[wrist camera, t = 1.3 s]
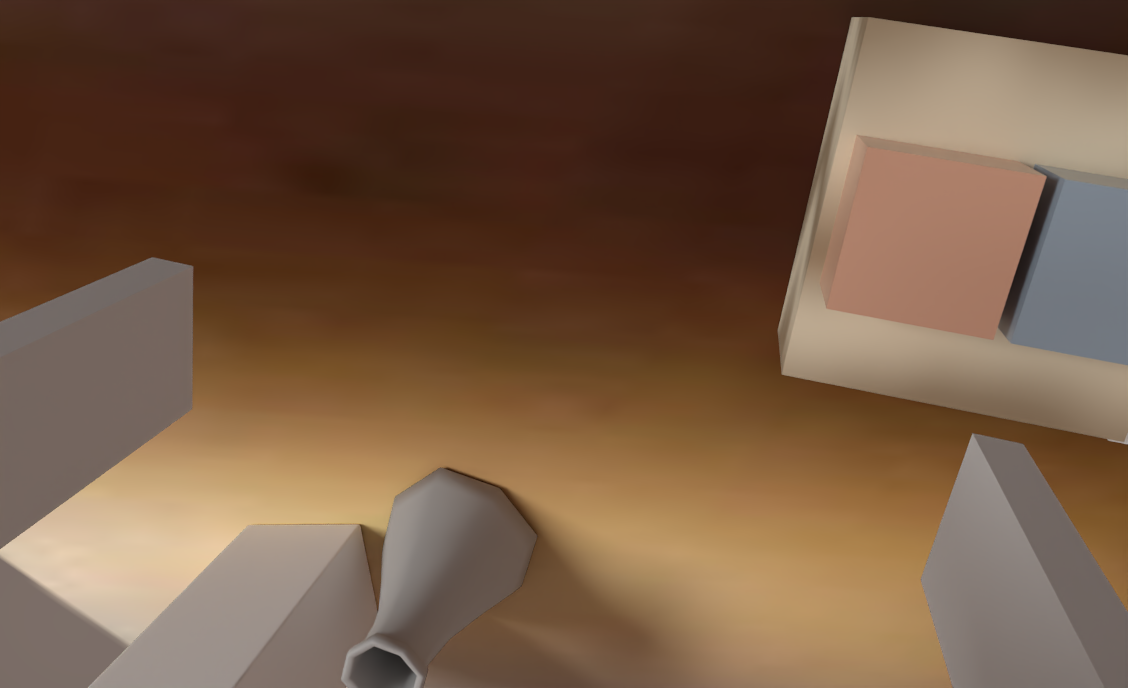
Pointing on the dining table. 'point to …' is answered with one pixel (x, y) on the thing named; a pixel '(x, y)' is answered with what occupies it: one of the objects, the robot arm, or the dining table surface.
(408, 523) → the flask
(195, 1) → the dining table surface
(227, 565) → the milk
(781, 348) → the cream square tray
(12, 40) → the dining table surface
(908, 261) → the terracotta tile
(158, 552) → the dining table surface
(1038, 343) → the slate tile
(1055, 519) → the robot arm
